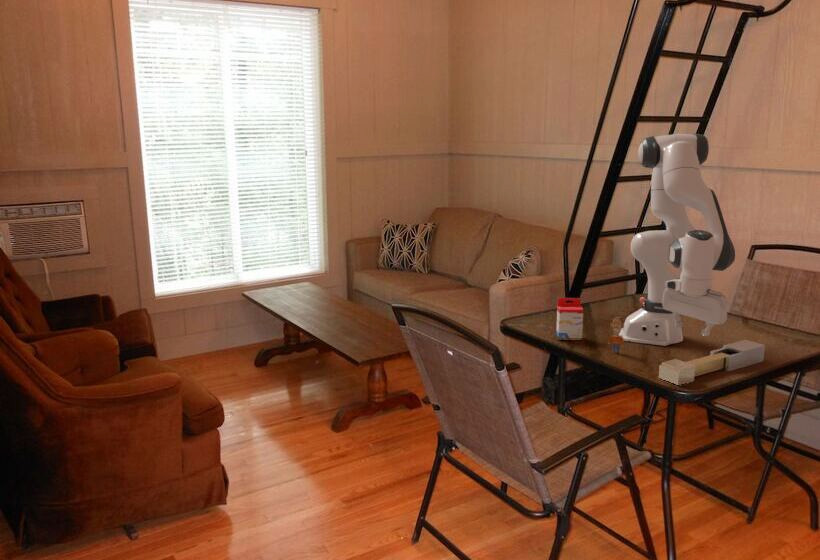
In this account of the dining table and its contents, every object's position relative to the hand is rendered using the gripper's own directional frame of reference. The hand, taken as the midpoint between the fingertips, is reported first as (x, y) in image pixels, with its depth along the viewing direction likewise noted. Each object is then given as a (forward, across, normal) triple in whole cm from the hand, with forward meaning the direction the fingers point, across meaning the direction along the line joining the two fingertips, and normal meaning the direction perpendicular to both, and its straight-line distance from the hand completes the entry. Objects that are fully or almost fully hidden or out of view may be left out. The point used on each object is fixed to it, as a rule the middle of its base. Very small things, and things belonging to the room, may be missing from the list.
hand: (691, 331), depth 200 cm
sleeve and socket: (+14, 0, -11) cm, 18 cm away
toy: (+15, +27, +2) cm, 31 cm away
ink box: (+15, +47, +5) cm, 50 cm away
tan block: (+14, 0, -6) cm, 15 cm away
